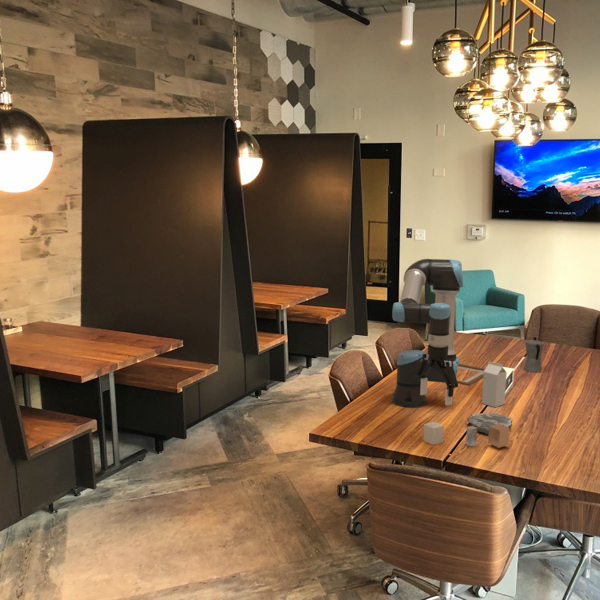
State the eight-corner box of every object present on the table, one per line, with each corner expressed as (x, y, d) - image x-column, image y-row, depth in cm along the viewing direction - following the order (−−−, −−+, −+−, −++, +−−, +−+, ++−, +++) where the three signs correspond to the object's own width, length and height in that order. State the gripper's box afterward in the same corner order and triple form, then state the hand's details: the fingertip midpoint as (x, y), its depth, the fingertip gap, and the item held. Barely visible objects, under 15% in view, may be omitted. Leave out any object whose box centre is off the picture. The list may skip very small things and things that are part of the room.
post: (466, 444, 252) (467, 427, 251) (471, 443, 253) (472, 425, 252) (471, 447, 250) (472, 429, 248) (476, 445, 251) (477, 428, 250)
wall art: (428, 357, 371) (494, 370, 348) (428, 360, 371) (493, 372, 348) (400, 370, 346) (469, 384, 324) (400, 372, 347) (469, 386, 324)
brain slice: (479, 416, 283) (479, 409, 282) (518, 426, 272) (518, 419, 272) (458, 429, 268) (458, 422, 267) (498, 440, 257) (499, 432, 257)
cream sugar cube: (423, 440, 256) (424, 424, 254) (433, 437, 258) (434, 421, 257) (432, 445, 251) (433, 428, 250) (442, 442, 254) (443, 425, 253)
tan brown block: (488, 445, 251) (489, 426, 250) (497, 442, 254) (498, 423, 253) (498, 450, 247) (499, 430, 246) (508, 447, 250) (509, 428, 248)
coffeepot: (520, 366, 358) (522, 333, 355) (538, 366, 358) (541, 334, 354) (527, 374, 343) (530, 340, 340) (546, 375, 343) (548, 341, 339)
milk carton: (495, 407, 293) (497, 366, 289) (481, 403, 298) (484, 362, 295) (504, 404, 297) (507, 363, 294) (491, 400, 303) (493, 360, 299)
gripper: (408, 339, 256) (406, 392, 260) (454, 353, 235) (451, 410, 239) (423, 337, 260) (420, 389, 264) (470, 351, 239) (466, 407, 243)
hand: (435, 399), depth 252 cm, fingers open, 13 cm apart
